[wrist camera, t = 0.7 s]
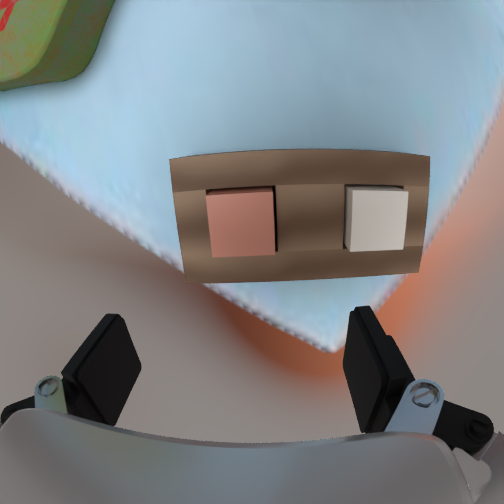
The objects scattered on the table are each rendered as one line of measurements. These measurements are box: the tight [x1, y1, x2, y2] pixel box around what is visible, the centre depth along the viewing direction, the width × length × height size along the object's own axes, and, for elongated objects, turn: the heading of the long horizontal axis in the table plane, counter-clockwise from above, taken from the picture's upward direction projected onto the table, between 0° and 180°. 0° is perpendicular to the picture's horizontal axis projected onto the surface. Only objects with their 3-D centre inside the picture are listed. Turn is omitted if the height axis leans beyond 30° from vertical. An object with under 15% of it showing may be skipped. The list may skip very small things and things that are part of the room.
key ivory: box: [343, 184, 408, 252], centre depth 24 cm, size 5×5×4 cm
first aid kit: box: [0, 0, 115, 91], centre depth 15 cm, size 26×26×10 cm
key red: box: [206, 185, 275, 257], centre depth 25 cm, size 5×5×4 cm
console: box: [169, 149, 430, 284], centre depth 27 cm, size 12×24×6 cm, turn 94°
